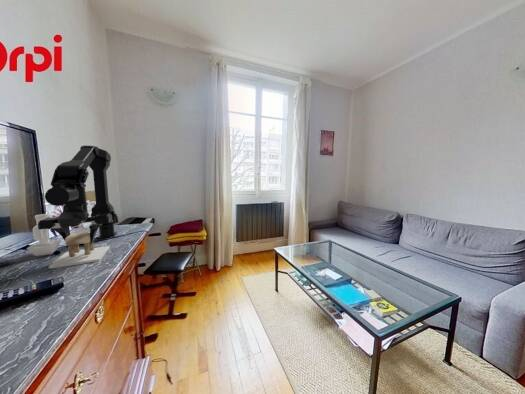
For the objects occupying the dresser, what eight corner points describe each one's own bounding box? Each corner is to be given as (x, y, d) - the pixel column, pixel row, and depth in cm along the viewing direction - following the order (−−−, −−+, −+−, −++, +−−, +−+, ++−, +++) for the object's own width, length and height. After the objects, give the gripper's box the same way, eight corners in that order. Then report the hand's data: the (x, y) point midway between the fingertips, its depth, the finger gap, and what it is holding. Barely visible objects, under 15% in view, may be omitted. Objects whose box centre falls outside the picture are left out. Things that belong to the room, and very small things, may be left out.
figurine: (26, 259, 71) (19, 218, 69) (39, 250, 79) (33, 212, 77) (53, 255, 75) (48, 215, 73) (64, 246, 83) (59, 211, 81)
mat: (67, 253, 76) (66, 251, 76) (109, 248, 82) (108, 246, 82) (48, 268, 64) (48, 266, 64) (99, 261, 70) (99, 258, 70)
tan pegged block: (67, 258, 69) (64, 238, 68) (74, 251, 74) (72, 233, 73) (89, 254, 71) (87, 235, 71) (95, 248, 77) (93, 231, 76)
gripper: (23, 207, 59) (31, 257, 61) (102, 202, 67) (106, 247, 69) (44, 201, 69) (50, 245, 71) (110, 198, 77) (114, 237, 79)
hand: (81, 244), depth 72 cm, fingers closed on tan pegged block, 6 cm apart
